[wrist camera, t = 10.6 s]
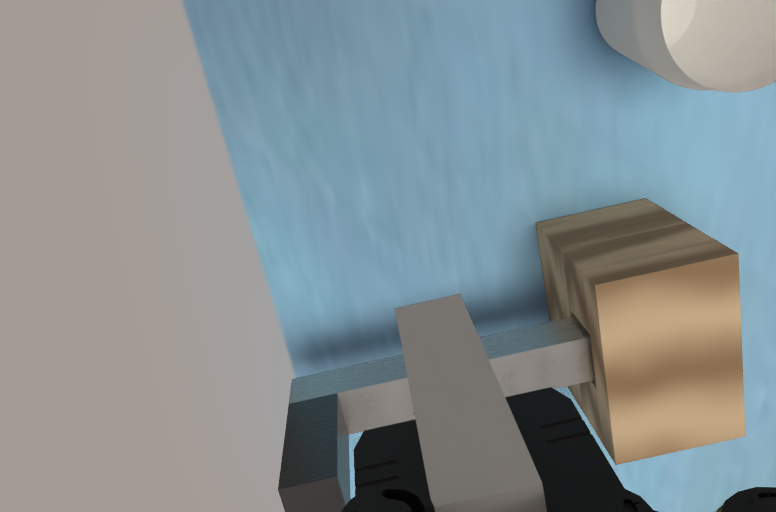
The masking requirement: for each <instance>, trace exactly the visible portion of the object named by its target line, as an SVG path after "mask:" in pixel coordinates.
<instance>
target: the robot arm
mask: <svg viewBox="0 0 776 512" xmlns="http://www.w3.org/2000/svg"><path fill="white" fill-rule="evenodd" d="M395 314H396V319H397V324H398V329H399V335H400V340H401V345H402V351H403V356H404V361H405V366H406V372H407V377H408V382H409V387H410V393H411V398H412V403H413V409H414V414H415V419H414V420H410V421H405V422H401V423H396V424H392V425H387V426H383V427H378V428H374V429H369V430H365V431H364V432H363V434H362V436H361V437H360V439H359V441H358V443H357V445H356V447H355V449H354V469H355V487H356V489H355V497H354V498H352V499H351V500H350V501H349V502H348V503H347V504H346V506H345V507H344V508H343V509H342V511H341V512H658V511H654V510H652V508H651V507H650V506H649V505H648V504H647V503H646V502H645V501H644V500H643V499H642V498H641V497H640V496H638V495H636V494H634V493H632V492H630V491H628V490H626V489H624V487H623V485H622V484H621V482H620V480H619V479H618V477H617V475H616V474H615V472H614V470H613V469H612V467H611V465H610V464H609V462H608V460H607V459H606V457H605V455H604V454H603V452H602V450H601V449H600V447H599V445H598V444H597V442H596V440H595V439H594V437H593V435H591V434H590V430H589V429H588V427H587V425H586V424H585V422H584V420H582V418H581V416H580V414H579V412H578V411H577V409H576V407H575V406H574V404H573V402H572V401H571V399H569V398H568V397H566V396H564V395H563V394H561V393H560V392H558V391H556V390H555V389H553V388H552V387H549V388H544V389H540V390H535V391H531V392H526V393H522V394H517V395H513V396H508V397H505V396H504V394H503V391H502V389H501V387H500V384H499V382H498V380H497V377H496V375H495V373H494V370H493V368H492V366H491V364H490V361H489V359H488V357H487V354H486V352H485V350H484V347H483V345H482V343H481V340H480V338H479V336H478V334H477V331H476V329H475V327H474V324H473V322H472V320H471V317H470V315H469V313H468V310H467V308H466V306H465V303H464V301H463V299H462V297H461V294H457V295H453V296H448V297H444V298H439V299H435V300H430V301H426V302H421V303H417V304H412V305H408V306H403V307H399V308H395ZM720 512H776V488H773V487H755V488H751V489H747V490H743V491H739V492H737V493H736V494H734V495H733V496H731V497H730V498H729V499H727V500H726V501H725V502H724V505H723V507H722V509H721V511H720Z"/></svg>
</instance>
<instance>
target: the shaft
mask: <svg viewBox="0 0 776 512" xmlns="http://www.w3.org/2000/svg"><path fill="white" fill-rule="evenodd" d="M480 340H481V343H482V345H483V347H484V350H485V352H486V354H487V357H488V359H489V361H490V364H491V366H492V368H493V370H494V373H495V375H496V377H497V380H498V382H499V384H500V387H501V389H502V391H503V394H504V396H505V397H508V396H513V395H517V394H522V393H526V392H531V391H535V390H540V389H544V388H549V387H552V388H553V389H557V388H561V387H566V386H570V385H575V384H579V383H584V382H588V381H593V380H595V373H594V365H593V357H592V349H591V340H590V334H589V333H588V332H587V330H586V329H585V328H584V327H583V325H582V324H581V323H580V322H579V320H578V319H577V318H576V316H575V317H570V318H566V319H561V320H557V321H552V322H548V323H543V324H539V325H534V326H530V327H525V328H521V329H516V330H511V331H507V332H502V333H498V334H493V335H489V336H484V337H480ZM414 419H415V414H414V409H413V403H412V398H411V393H410V387H409V382H408V377H407V372H406V366H405V361H404V356H403V355H399V356H394V357H390V358H385V359H381V360H376V361H371V362H367V363H362V364H358V365H353V366H349V367H344V368H340V369H335V370H331V371H326V372H322V373H317V374H313V375H308V376H304V377H299V378H295V379H292V383H291V392H290V399H289V407H288V415H287V423H286V431H285V439H284V447H283V456H282V463H281V471H280V479H279V487H278V491H279V494H280V497H281V500H282V503H283V506H284V510H285V512H341V511H342V509H343V508H344V507H345V506H346V504H347V503H348V502H349V501H350V469H349V434H353V433H358V432H362V431H365V430H369V429H374V428H378V427H383V426H387V425H392V424H396V423H401V422H405V421H410V420H414Z"/></svg>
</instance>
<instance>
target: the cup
mask: <svg viewBox="0 0 776 512" xmlns="http://www.w3.org/2000/svg"><path fill="white" fill-rule="evenodd" d="M595 13H596V21H597V25H598V28H599V31H600V33H601V35H602V37H603V38H604V40H605V41H606V42H607V43H608V45H609V46H611V47H612V48H613V49H614V50H615V51H617V52H619V53H620V54H622V55H624V56H626V57H627V58H629V59H631V60H633V61H634V62H636V63H638V64H639V65H641V66H643V67H645V68H646V69H648V70H650V71H651V72H653V73H655V74H657V75H658V76H660V77H662V78H664V79H665V80H667V81H669V82H671V83H674V84H676V85H679V86H682V87H685V88H689V89H693V90H713V91H722V92H745V91H750V90H755V89H758V88H761V87H764V86H767V85H769V84H771V83H773V82H775V81H776V0H596V6H595Z"/></svg>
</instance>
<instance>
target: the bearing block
mask: <svg viewBox="0 0 776 512" xmlns="http://www.w3.org/2000/svg"><path fill="white" fill-rule="evenodd" d="M536 229H537V236H538V243H539V250H540V257H541V264H542V271H543V278H544V285H545V292H546V298H547V305H548V312H549V319H550V322H552V321H557V320H561V319H566V318H570V317H575V316H576V318H577V319H578V320H579V322H580V323H581V324H582V325H583V327H584V328H585V329H586V330H587V332H588V333H589V334H590V340H591V349H592V357H593V365H594V373H595V380H593V381H588V382H584V383H579V384H575V385H570V386H567V387H568V388H569V390H570V391H571V393H572V395H573V396H574V398H575V400H576V401H577V403H578V404H579V406H580V408H581V409H582V411H583V413H584V414H585V416H586V417H587V419H588V421H589V422H590V424H591V426H592V427H593V429H594V430H595V432H596V434H597V435H598V437H599V438H600V440H601V442H602V443H603V445H604V447H605V448H606V450H607V451H608V453H609V455H610V456H611V458H612V460H613V461H614V463H615V464H616V465H618V464H622V463H627V462H631V461H636V460H640V459H645V458H649V457H654V456H659V455H663V454H668V453H672V452H677V451H681V450H686V449H690V448H695V447H699V446H704V445H708V444H713V443H718V442H722V441H727V440H731V439H736V438H740V437H745V415H744V389H743V362H742V336H741V310H740V284H739V258H738V253H737V252H735V251H733V250H732V249H730V248H728V247H727V246H725V245H723V244H722V243H720V242H718V241H717V240H715V239H713V238H711V237H710V236H708V235H706V234H705V233H703V232H701V231H700V230H698V229H696V228H695V227H693V226H691V225H690V224H688V223H686V222H685V221H683V220H681V219H680V218H678V217H676V216H675V215H673V214H671V213H670V212H668V211H666V210H665V209H663V208H661V207H660V206H658V205H656V204H655V203H653V202H651V201H650V200H648V199H646V198H645V199H641V200H636V201H632V202H627V203H623V204H618V205H614V206H609V207H605V208H600V209H596V210H591V211H587V212H582V213H578V214H573V215H569V216H564V217H560V218H555V219H551V220H546V221H542V222H537V223H536Z"/></svg>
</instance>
